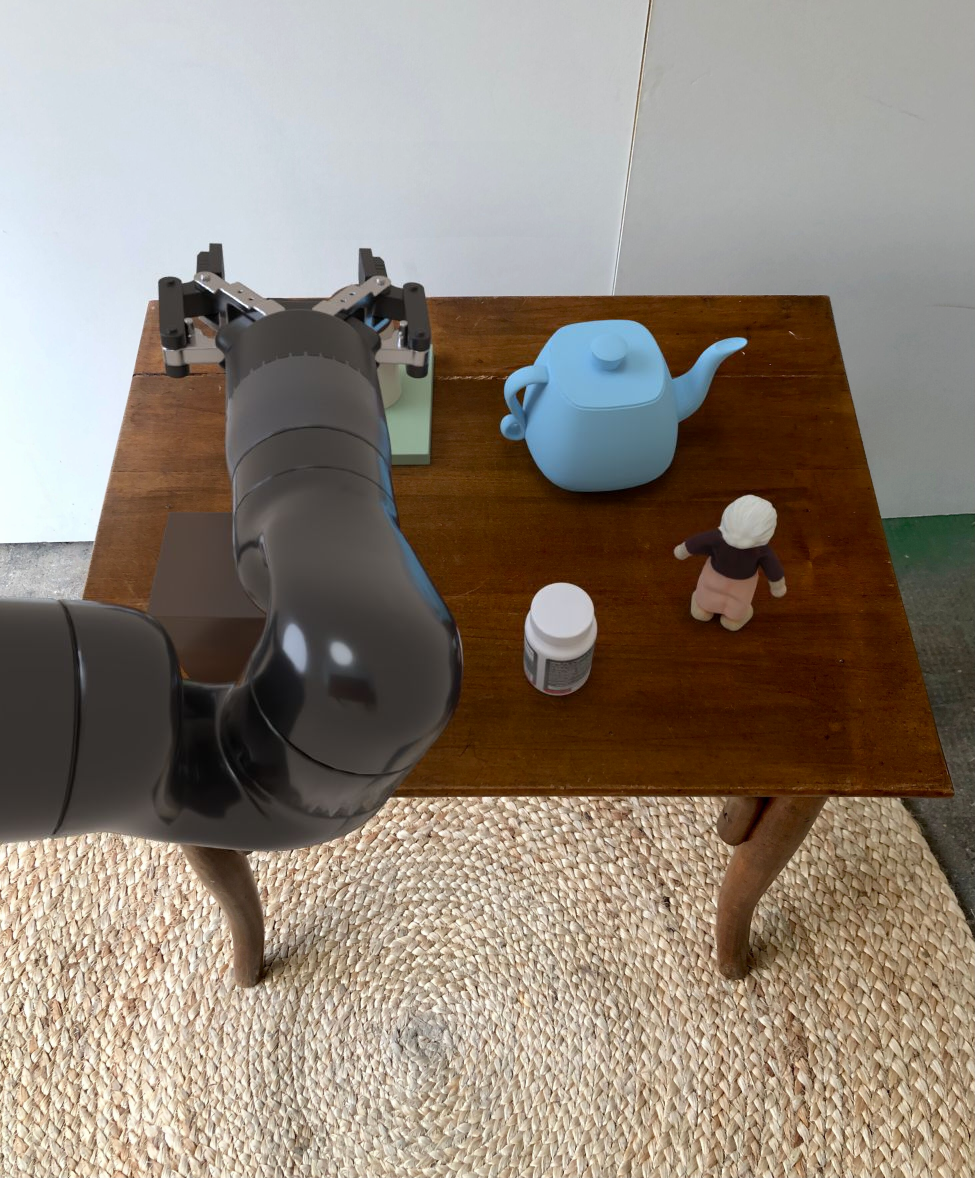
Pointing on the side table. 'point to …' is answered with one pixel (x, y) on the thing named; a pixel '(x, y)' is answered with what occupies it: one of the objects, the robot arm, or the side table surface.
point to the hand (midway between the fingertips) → (291, 260)
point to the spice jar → (386, 368)
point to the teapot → (605, 404)
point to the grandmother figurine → (735, 562)
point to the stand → (204, 597)
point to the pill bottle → (559, 639)
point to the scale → (412, 419)
